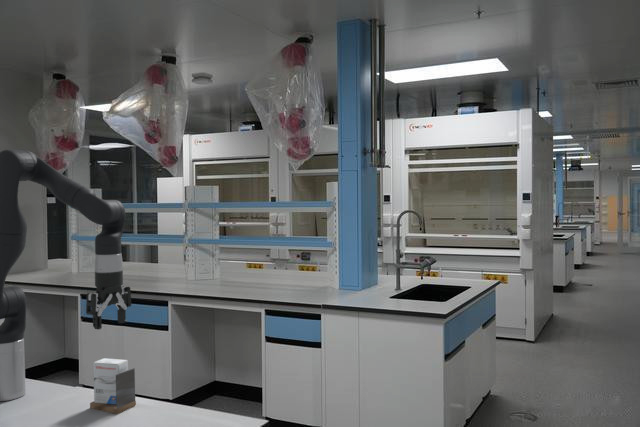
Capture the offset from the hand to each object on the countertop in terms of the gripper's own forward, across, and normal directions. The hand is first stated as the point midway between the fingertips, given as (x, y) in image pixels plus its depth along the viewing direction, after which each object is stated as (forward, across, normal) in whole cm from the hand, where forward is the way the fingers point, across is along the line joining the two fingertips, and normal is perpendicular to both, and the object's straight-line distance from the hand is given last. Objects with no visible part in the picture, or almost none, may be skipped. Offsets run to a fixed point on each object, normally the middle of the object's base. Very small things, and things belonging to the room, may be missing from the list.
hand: (109, 325), depth 160 cm
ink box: (+22, 0, 0) cm, 22 cm away
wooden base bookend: (+23, 0, -1) cm, 23 cm away
